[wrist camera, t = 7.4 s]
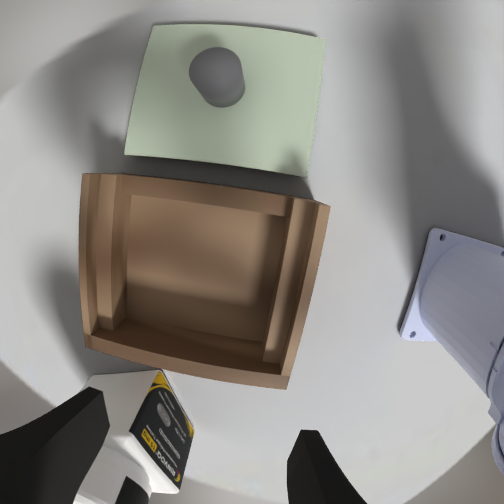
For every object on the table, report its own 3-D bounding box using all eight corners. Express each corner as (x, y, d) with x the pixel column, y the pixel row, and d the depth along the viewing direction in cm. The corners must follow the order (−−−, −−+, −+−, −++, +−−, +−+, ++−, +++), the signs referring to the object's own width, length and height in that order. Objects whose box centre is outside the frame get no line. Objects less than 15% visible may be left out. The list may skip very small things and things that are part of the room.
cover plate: (304, 177, 16) (317, 176, 12) (128, 155, 16) (97, 151, 12) (323, 44, 14) (337, 15, 10) (156, 30, 14) (135, 3, 10)
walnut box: (282, 350, 19) (286, 389, 15) (113, 318, 19) (85, 346, 15) (314, 199, 16) (330, 206, 12) (118, 173, 16) (82, 173, 12)
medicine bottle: (196, 430, 21) (167, 549, 10) (129, 431, 22) (84, 527, 10) (162, 367, 20) (98, 499, 8) (91, 373, 20) (18, 471, 9)
